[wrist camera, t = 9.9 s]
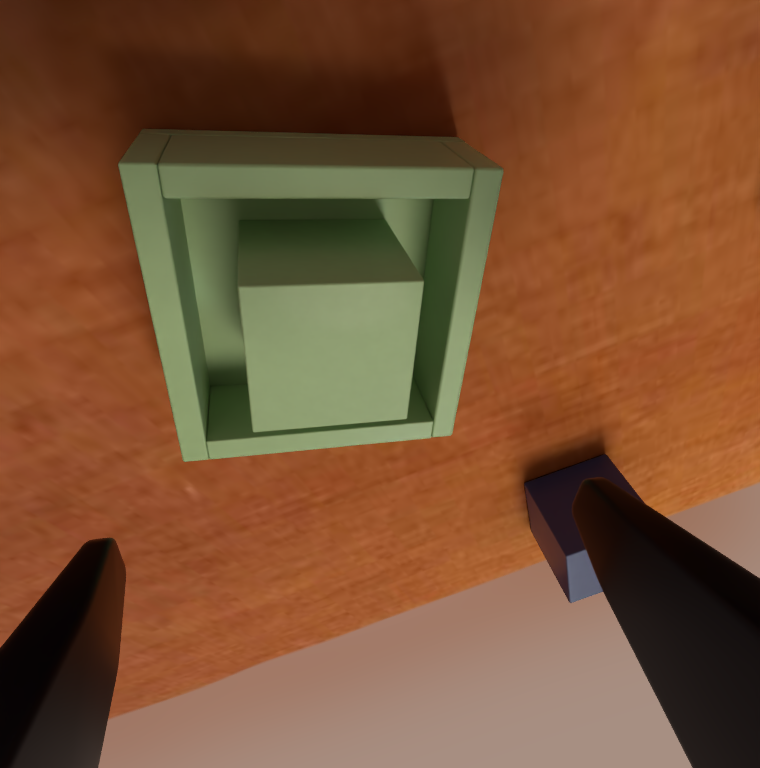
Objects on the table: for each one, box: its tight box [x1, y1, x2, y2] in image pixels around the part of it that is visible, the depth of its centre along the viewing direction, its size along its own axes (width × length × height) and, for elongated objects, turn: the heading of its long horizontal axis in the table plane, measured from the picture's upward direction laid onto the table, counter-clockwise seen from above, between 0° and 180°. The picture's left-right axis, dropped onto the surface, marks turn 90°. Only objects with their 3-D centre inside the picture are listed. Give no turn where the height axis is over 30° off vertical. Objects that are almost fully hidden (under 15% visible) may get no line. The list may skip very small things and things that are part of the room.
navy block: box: [524, 454, 644, 603], centre depth 27 cm, size 4×4×4 cm
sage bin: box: [118, 129, 503, 462], centre depth 16 cm, size 9×9×4 cm
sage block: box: [238, 219, 424, 432], centre depth 16 cm, size 4×4×4 cm
